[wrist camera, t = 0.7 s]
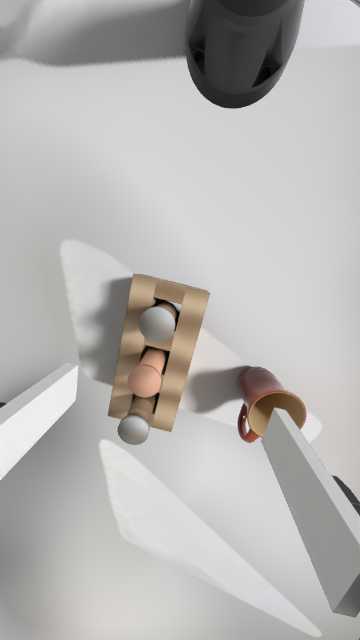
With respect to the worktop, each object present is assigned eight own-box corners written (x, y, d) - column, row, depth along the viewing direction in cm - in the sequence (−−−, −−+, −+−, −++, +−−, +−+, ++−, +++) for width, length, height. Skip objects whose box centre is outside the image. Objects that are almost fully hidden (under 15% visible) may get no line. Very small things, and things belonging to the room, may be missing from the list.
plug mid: (146, 341, 32) (130, 363, 24) (171, 347, 32) (163, 371, 24) (141, 363, 33) (124, 392, 25) (165, 369, 33) (156, 400, 25)
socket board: (144, 274, 35) (133, 273, 28) (206, 290, 35) (210, 293, 28) (121, 392, 41) (107, 415, 34) (174, 406, 41) (171, 432, 34)
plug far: (138, 380, 34) (120, 415, 26) (161, 386, 34) (151, 422, 26) (133, 401, 35) (115, 440, 27) (156, 406, 35) (145, 448, 27)
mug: (250, 353, 37) (272, 380, 27) (285, 375, 38) (319, 411, 28) (215, 396, 40) (223, 436, 30) (248, 417, 40) (267, 463, 30)
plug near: (156, 296, 31) (142, 303, 22) (182, 303, 31) (178, 312, 22) (150, 321, 32) (135, 337, 23) (175, 327, 32) (170, 346, 23)
